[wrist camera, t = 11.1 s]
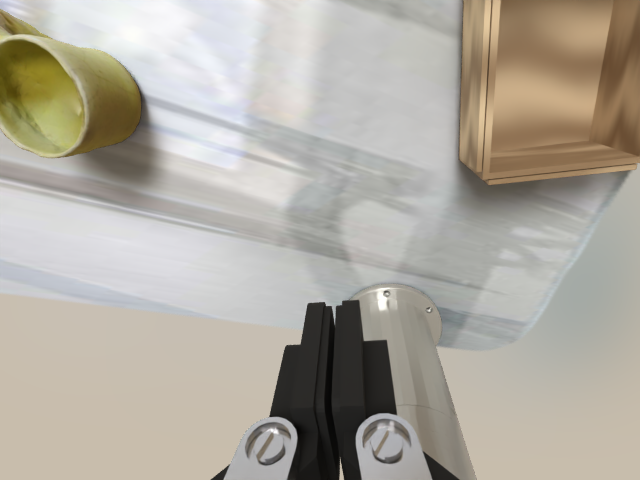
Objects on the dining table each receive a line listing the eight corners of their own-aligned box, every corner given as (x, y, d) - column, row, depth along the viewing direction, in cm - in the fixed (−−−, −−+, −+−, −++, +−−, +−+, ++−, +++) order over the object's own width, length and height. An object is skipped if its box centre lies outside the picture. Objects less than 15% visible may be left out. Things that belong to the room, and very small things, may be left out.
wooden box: (590, 149, 34) (644, 168, 28) (453, 164, 36) (475, 186, 30) (632, -78, 27) (718, -121, 21) (458, -46, 28) (489, -77, 22)
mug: (176, 129, 34) (71, 141, 26) (116, 160, 40) (12, 178, 31) (119, -8, 32) (-18, -44, 23) (63, 45, 37) (-66, 31, 29)
